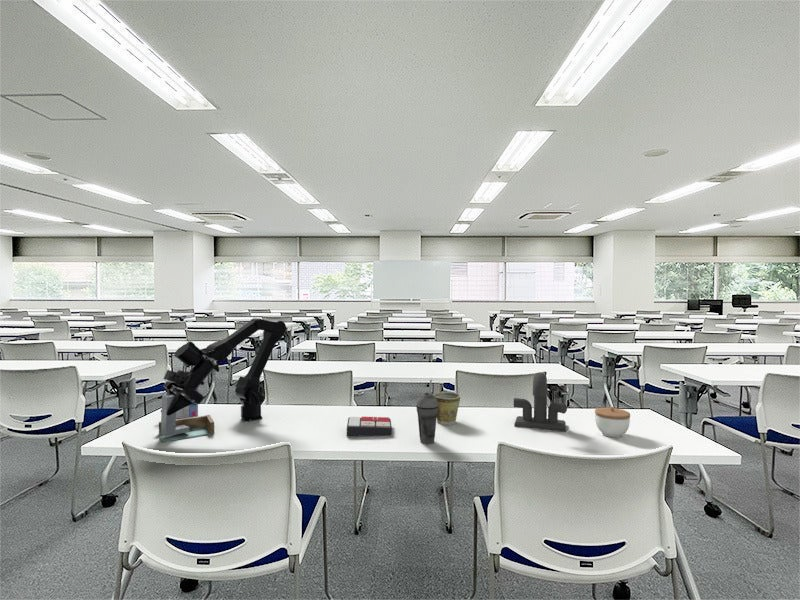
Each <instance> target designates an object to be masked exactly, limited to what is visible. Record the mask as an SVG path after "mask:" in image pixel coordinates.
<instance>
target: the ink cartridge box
mask: <svg viewBox="0 0 800 600" xmlns="http://www.w3.org/2000/svg"><path fill="white" fill-rule="evenodd" d="M196 391H198V392H199V387H198V388H197V389H196ZM192 403H193V404H191V405H189V406H187V407H185V408H183V409H181V410H179V411H177V412H176V419H184V418H191V417H198V416H199V404H197V403H195V401H194V400H193V401H192Z"/></svg>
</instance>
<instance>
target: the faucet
mask: <svg viewBox="0 0 800 600" xmlns="http://www.w3.org/2000/svg"><path fill="white" fill-rule="evenodd" d="M547 377H548V376H547V375H546V374H545V373H544V372H536V373H535V374H534V375H533V377H532V396H533V406H532V403H531V402H530V401H529V400H528V399H525V398H519V397H514V398H513V408H521V409H522V416H521V415H518V416H516V417H515V420H514V423H513V424H514V427H516V428H524V429H533V430H542V431H543V430H544V431H552V432H554V431H555V432H563V433H566V430H567V426H566V423H567V422H566V421H565V420H563V419H559V417H558V416H559V415H558V413H560V414H566V413H567V410H568V405H567V404H565V403H562V402H557V401H555V402H554V401H553V402H551V403H550V404H549V405H548V378H547ZM547 407H548V408H547Z"/></svg>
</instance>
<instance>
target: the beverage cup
mask: <svg viewBox="0 0 800 600" xmlns="http://www.w3.org/2000/svg"><path fill="white" fill-rule="evenodd" d="M432 380H433V379H430V380H429V387H428V392H425V393H421V394H420V396H419V397H418V398H417V400H416V404H415V407H416V413H417V421H418V432H419V435H418V436H419V442H420V443H421V444H423V445H432V444H434V443H435V438H436V429H437V412H438V407H439V406H438V401H437V399H436V397H435V396H434V395H433V393H431V389H432Z"/></svg>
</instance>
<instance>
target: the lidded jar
mask: <svg viewBox="0 0 800 600" xmlns="http://www.w3.org/2000/svg"><path fill="white" fill-rule="evenodd" d="M594 417H595V419H594V421H595V425H596V427H597V429H598V430H599V431H600V432H601V434H602V435H603V436H605V437H609V438H617V439H618V438H622V437H623V435H625V434H626V433H627V431H628V430H629V428H630V422H631V413H630V412H629V411H627V410H624V409H621V408H615V407H614V406H610V407H598V408H595V409H594Z"/></svg>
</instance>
